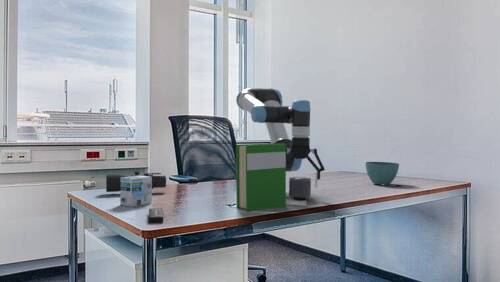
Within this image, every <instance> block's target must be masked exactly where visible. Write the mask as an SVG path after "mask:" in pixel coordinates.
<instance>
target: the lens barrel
mask: <svg viewBox="0 0 500 282" xmlns="http://www.w3.org/2000/svg"><path fill="white" fill-rule="evenodd" d="M293 198H294V200H299V201H303V200H306V201H307V197H303V198H301V197H293Z"/></svg>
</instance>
